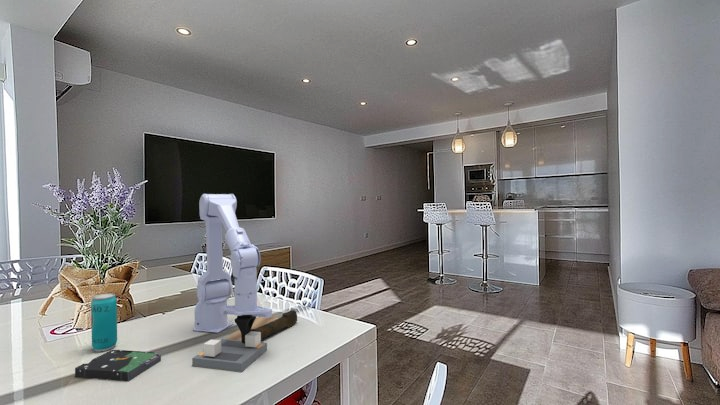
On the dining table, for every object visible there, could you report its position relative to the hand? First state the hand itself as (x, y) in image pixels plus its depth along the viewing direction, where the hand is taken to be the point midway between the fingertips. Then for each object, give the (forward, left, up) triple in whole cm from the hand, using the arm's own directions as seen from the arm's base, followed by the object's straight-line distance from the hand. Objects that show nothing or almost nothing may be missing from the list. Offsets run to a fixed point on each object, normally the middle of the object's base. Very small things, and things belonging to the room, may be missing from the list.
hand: (246, 341), depth 91 cm
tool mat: (-7, +15, -3) cm, 17 cm away
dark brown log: (+1, +15, -3) cm, 15 cm away
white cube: (-5, -7, -1) cm, 9 cm away
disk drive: (-26, -14, -4) cm, 30 cm away
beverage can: (-41, -6, -3) cm, 42 cm away
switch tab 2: (+2, 0, -1) cm, 2 cm away
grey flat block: (-2, -4, -3) cm, 5 cm away
